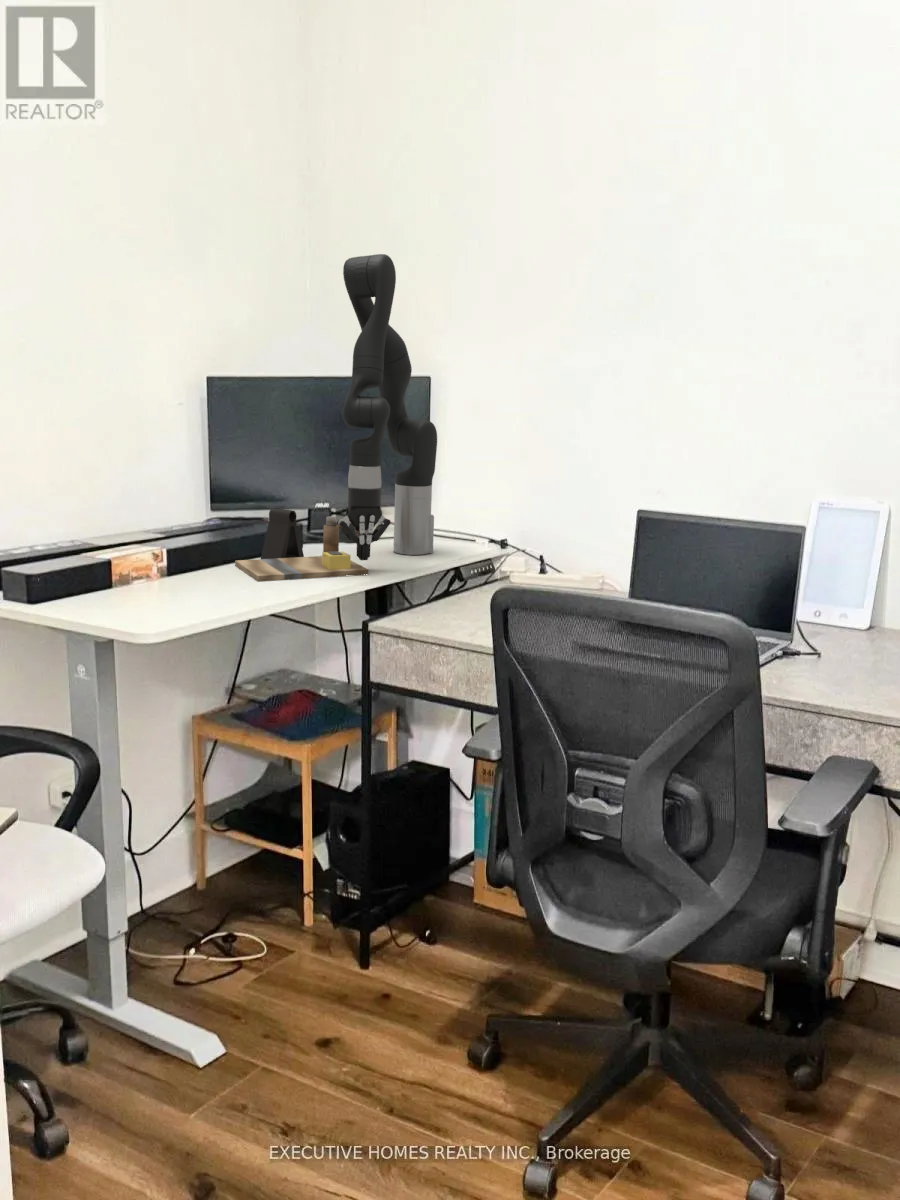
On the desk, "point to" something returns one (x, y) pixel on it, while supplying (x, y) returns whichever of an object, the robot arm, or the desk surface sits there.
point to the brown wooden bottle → (331, 535)
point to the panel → (294, 568)
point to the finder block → (336, 560)
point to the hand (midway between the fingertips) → (363, 559)
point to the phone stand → (282, 536)
